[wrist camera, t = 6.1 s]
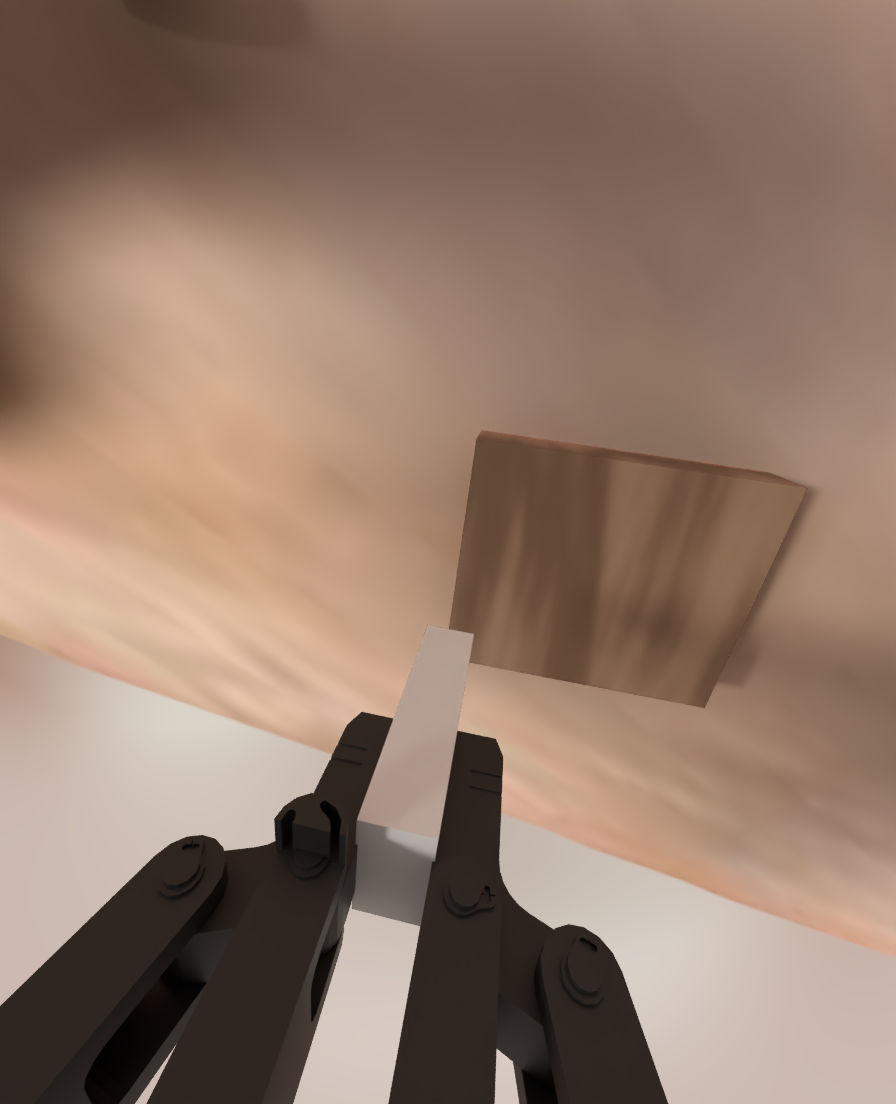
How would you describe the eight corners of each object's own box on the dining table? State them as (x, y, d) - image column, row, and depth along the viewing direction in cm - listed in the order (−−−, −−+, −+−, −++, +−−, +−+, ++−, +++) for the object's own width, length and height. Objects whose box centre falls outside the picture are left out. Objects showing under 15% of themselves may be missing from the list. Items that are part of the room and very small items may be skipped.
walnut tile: (444, 657, 24) (704, 708, 23) (476, 439, 19) (807, 488, 18) (453, 623, 27) (681, 665, 26) (482, 429, 23) (762, 470, 21)
